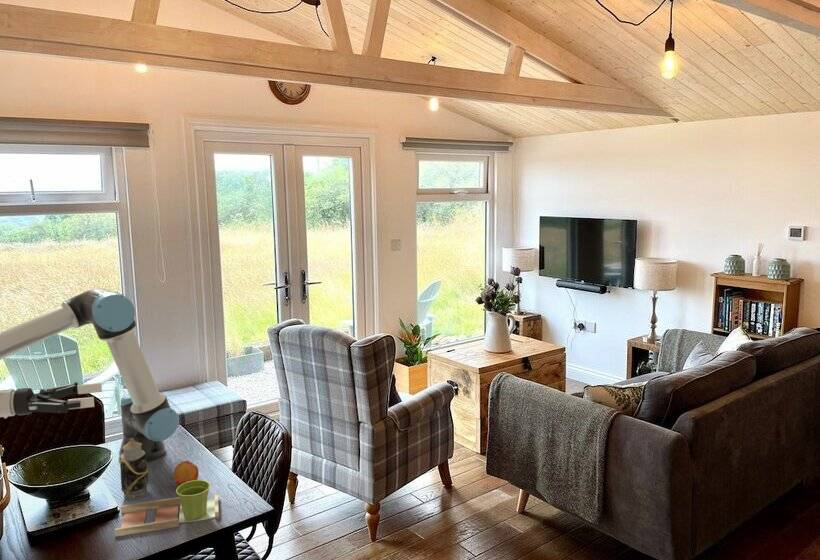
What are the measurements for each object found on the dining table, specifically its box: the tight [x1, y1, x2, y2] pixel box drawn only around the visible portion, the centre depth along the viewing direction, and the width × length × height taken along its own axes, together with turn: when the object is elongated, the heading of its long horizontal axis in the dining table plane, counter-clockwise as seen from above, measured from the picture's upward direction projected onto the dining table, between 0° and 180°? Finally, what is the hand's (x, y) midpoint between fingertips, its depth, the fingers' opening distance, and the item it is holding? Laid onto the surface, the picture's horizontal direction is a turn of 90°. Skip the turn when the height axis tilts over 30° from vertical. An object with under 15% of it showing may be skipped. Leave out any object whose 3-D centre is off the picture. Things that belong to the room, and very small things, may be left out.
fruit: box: [173, 460, 199, 487], centre depth 200 cm, size 8×8×8 cm
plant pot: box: [175, 479, 211, 520], centre depth 181 cm, size 9×9×9 cm
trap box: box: [114, 492, 220, 538], centre depth 182 cm, size 14×28×2 cm, turn 108°
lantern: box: [118, 418, 150, 500], centre depth 193 cm, size 9×8×25 cm
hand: (97, 394), depth 184 cm, fingers open, 13 cm apart
